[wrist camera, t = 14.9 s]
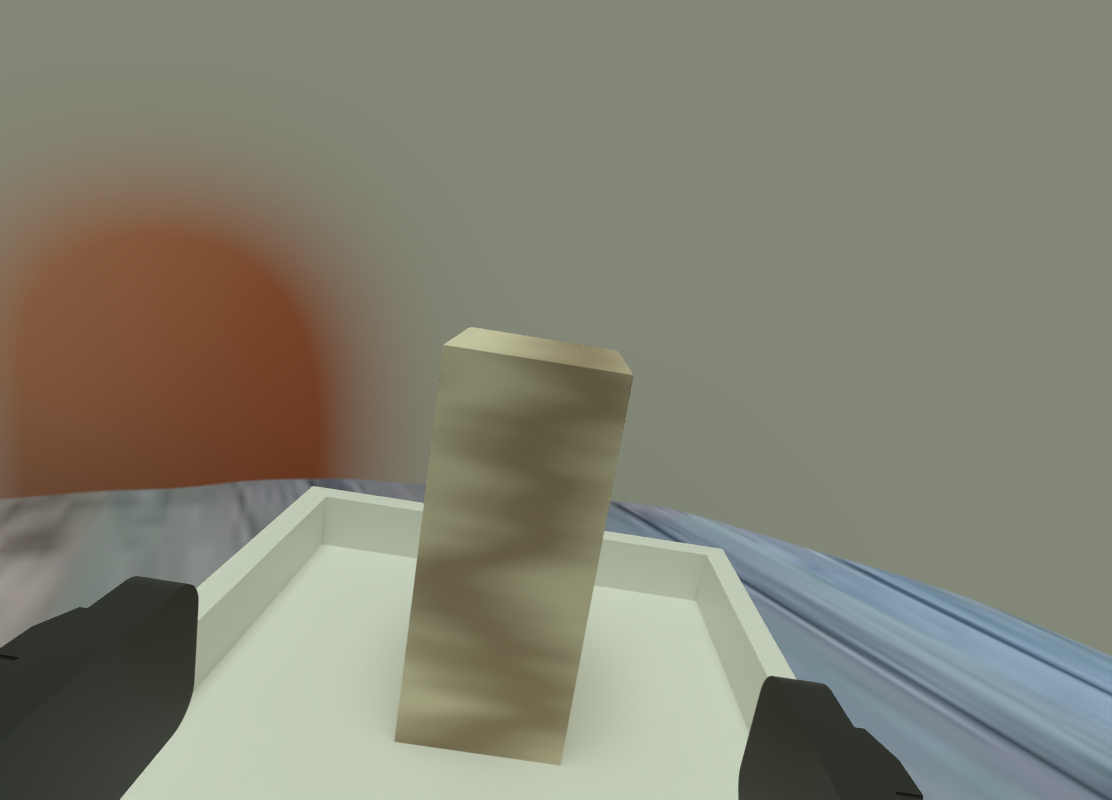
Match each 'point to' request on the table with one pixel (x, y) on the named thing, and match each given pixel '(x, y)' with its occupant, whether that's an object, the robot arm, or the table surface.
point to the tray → (378, 660)
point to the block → (510, 542)
